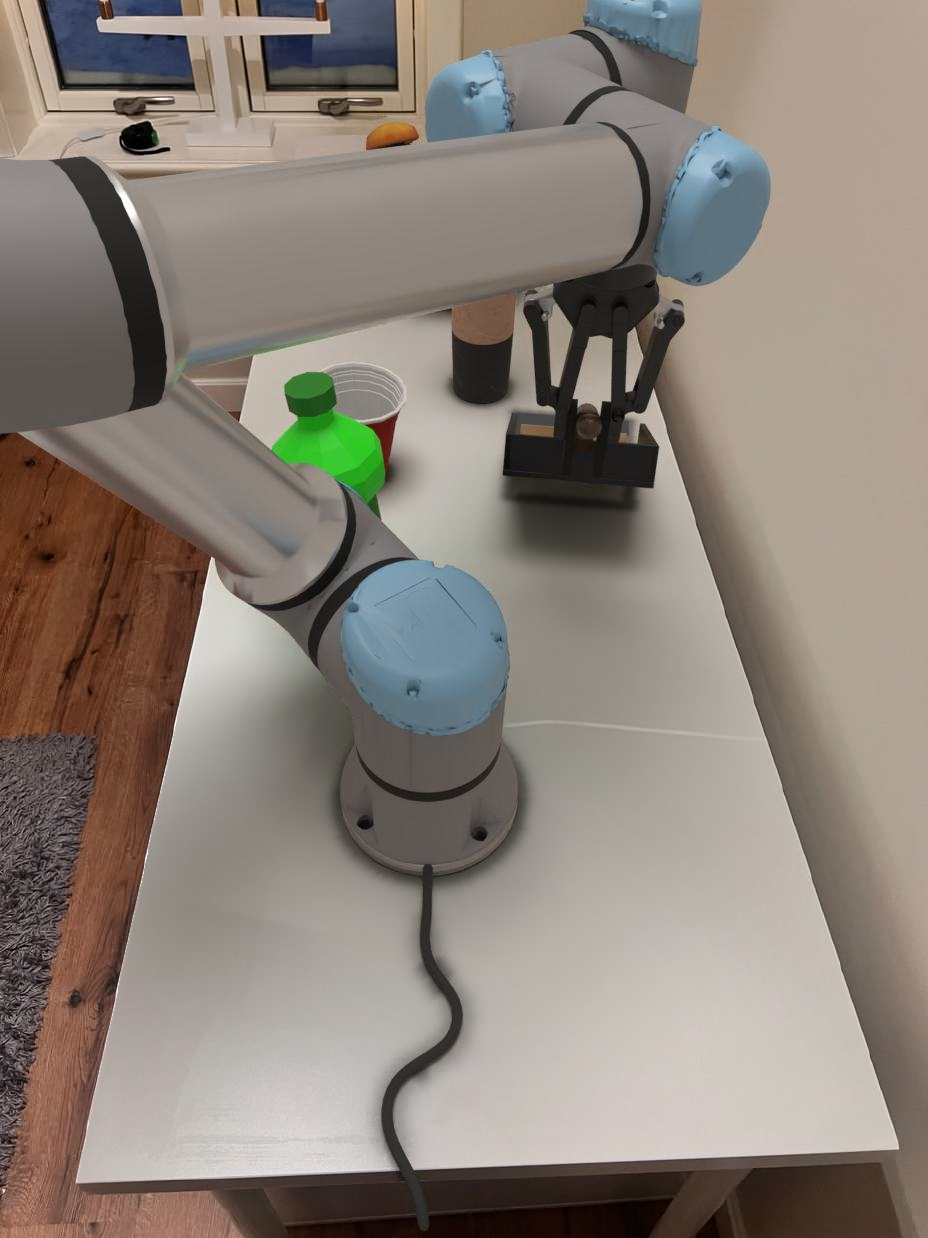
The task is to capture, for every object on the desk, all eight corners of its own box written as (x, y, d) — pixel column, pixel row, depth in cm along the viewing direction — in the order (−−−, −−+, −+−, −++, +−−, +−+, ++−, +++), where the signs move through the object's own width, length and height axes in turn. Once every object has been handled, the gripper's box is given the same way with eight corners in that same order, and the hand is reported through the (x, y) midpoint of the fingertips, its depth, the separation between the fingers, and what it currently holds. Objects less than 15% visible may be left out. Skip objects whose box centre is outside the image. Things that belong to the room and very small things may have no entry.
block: (556, 426, 108) (555, 429, 112) (520, 423, 108) (521, 427, 112) (552, 462, 109) (551, 463, 113) (517, 459, 109) (518, 461, 113)
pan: (666, 515, 83) (679, 422, 81) (496, 500, 84) (503, 408, 82) (640, 460, 108) (649, 388, 105) (508, 449, 109) (515, 377, 106)
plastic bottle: (402, 557, 101) (362, 344, 83) (413, 626, 94) (372, 408, 76) (308, 573, 101) (249, 362, 83) (312, 643, 93) (248, 429, 76)
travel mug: (443, 398, 121) (443, 248, 106) (461, 366, 126) (463, 218, 111) (500, 409, 120) (509, 259, 105) (516, 376, 125) (526, 228, 110)
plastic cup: (397, 511, 107) (393, 424, 98) (305, 497, 108) (292, 410, 99) (419, 452, 114) (417, 365, 105) (332, 439, 115) (323, 353, 106)
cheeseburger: (385, 196, 158) (375, 130, 153) (360, 187, 166) (349, 124, 160) (438, 183, 162) (431, 118, 156) (411, 175, 170) (403, 113, 164)
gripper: (714, 205, 74) (662, 447, 91) (518, 192, 75) (504, 435, 92) (721, 252, 69) (664, 499, 86) (511, 238, 70) (497, 485, 87)
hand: (581, 465), depth 89 cm, fingers closed on pan, 2 cm apart
